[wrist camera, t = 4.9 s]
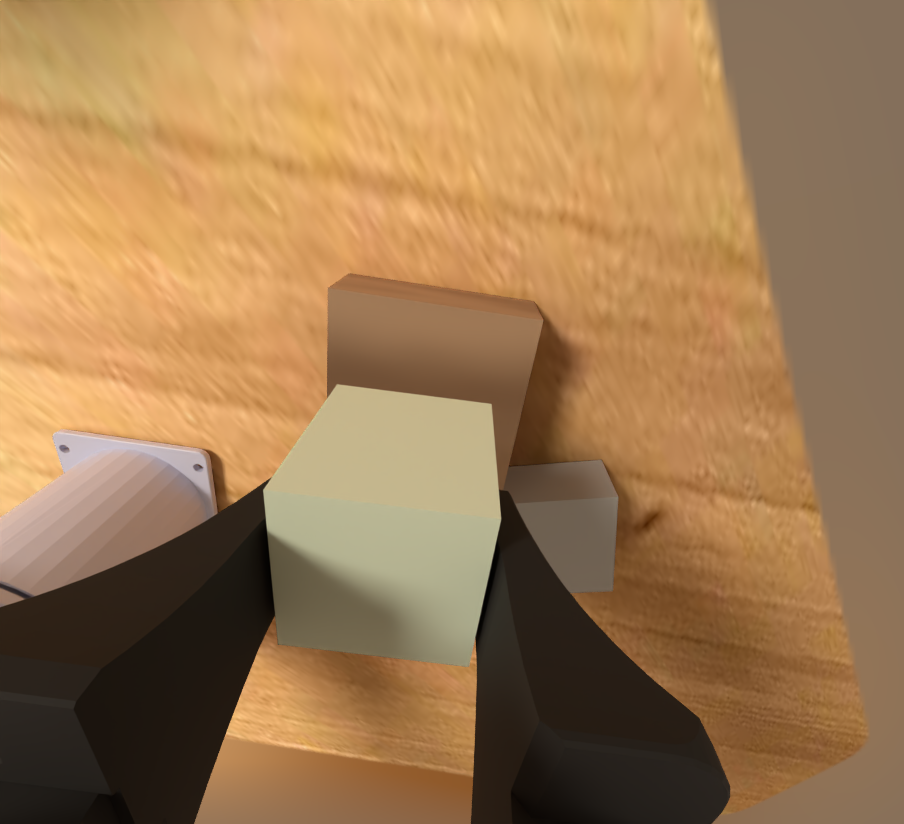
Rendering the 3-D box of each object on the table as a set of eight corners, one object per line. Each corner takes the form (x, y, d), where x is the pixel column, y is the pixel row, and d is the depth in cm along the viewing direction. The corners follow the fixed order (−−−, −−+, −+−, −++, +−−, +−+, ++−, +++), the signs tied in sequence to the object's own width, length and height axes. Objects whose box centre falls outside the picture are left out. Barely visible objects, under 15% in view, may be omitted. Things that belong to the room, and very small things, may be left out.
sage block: (470, 523, 15) (468, 667, 10) (337, 506, 15) (277, 644, 10) (491, 403, 13) (501, 519, 8) (336, 384, 13) (263, 489, 8)
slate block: (598, 547, 25) (612, 591, 22) (492, 553, 26) (494, 596, 23) (601, 459, 22) (618, 496, 20) (483, 468, 23) (484, 505, 20)
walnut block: (499, 456, 23) (502, 492, 20) (344, 434, 22) (326, 467, 20) (534, 301, 19) (543, 320, 16) (349, 273, 19) (327, 288, 16)
